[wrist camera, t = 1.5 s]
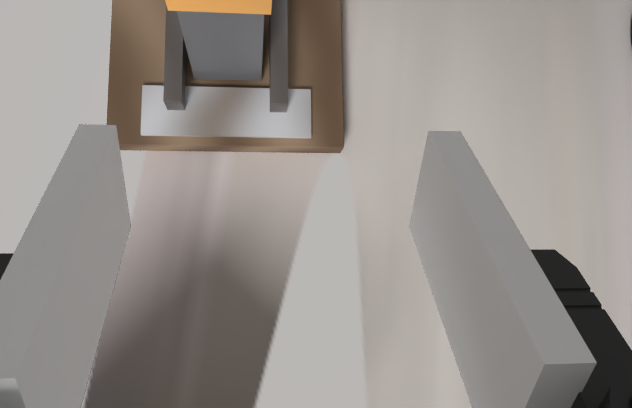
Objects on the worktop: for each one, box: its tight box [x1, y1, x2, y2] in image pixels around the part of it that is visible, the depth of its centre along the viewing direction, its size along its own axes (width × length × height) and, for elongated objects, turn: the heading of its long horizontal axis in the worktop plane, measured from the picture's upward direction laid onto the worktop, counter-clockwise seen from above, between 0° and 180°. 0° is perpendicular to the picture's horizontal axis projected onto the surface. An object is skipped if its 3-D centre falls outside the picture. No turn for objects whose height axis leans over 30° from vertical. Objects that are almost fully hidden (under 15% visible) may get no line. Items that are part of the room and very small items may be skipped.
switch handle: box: [165, 0, 272, 81], centre depth 30 cm, size 5×5×11 cm
